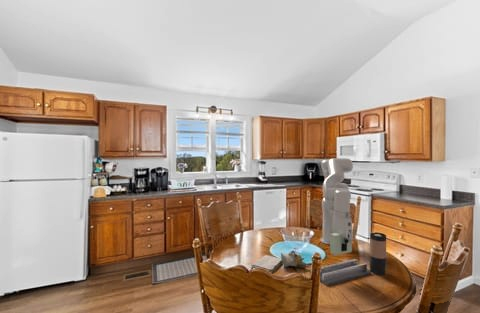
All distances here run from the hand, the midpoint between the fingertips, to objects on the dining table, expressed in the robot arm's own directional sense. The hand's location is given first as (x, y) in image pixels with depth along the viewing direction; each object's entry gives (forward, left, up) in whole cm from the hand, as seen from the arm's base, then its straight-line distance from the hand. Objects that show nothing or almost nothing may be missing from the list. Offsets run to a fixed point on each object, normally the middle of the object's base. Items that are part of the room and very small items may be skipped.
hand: (341, 249), depth 126 cm
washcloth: (+30, -24, -14) cm, 41 cm away
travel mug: (-20, +6, -13) cm, 25 cm away
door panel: (0, 0, -2) cm, 2 cm away
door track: (0, 0, -13) cm, 13 cm away
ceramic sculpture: (+17, -18, -13) cm, 28 cm away
